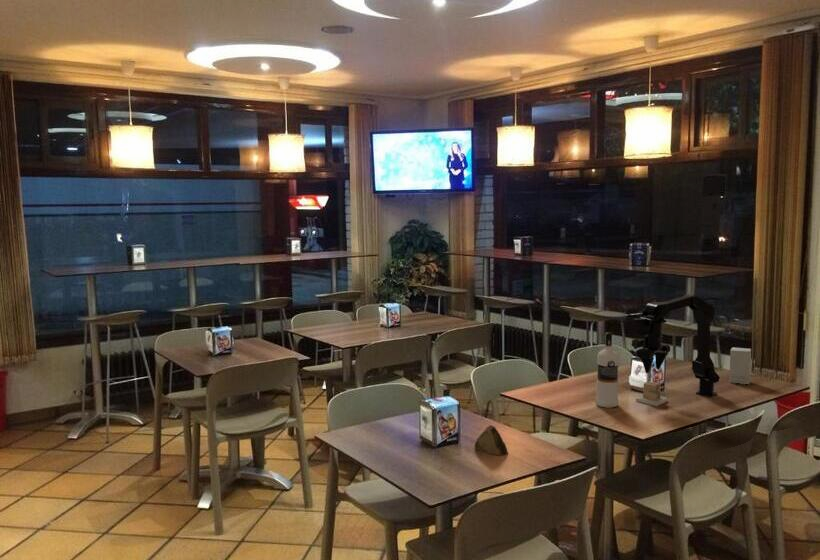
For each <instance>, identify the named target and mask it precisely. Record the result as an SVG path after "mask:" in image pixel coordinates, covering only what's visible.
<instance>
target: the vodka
mask: <svg viewBox="0 0 820 560" xmlns="http://www.w3.org/2000/svg"><path fill="white" fill-rule="evenodd" d="M604 343H605V344H604V348H603V349H601V350H599V352H598V353H597V362H596V363H597V376H596V377H597V378H596V393H595V397H594V403H595V405H597V407H600V408H604V407H605V409H613V407H614V408H616V407H618V406H619V403H620V402H619V401H620V400H619V394H618V384H619V381H618V380H619V361H620V357H619V354H618V352H617V351H615V350H614V349H613V347H612V345H613V333H612V332H605V341H604Z"/></svg>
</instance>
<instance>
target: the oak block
mask: <svg viewBox="0 0 820 560" xmlns="http://www.w3.org/2000/svg"><path fill="white" fill-rule="evenodd" d="M642 387H643V389H642V395H643V398H647V399H651V400H656V399H658V398H660V397H661V389H662V388H661V387H662V384H661V382H655V381H650V380H649V381H647V382H644V383H643V386H642Z"/></svg>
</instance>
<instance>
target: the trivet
mask: <svg viewBox="0 0 820 560" xmlns="http://www.w3.org/2000/svg"><path fill="white" fill-rule="evenodd" d="M636 401H637V402H638V403H641V404H644V405H651V406H655V407H658V406H661V405H662V404H664V403H666V402H668V398H667V397H665V396H660V398H658V399H656V400H651V399H647V398H643V394H642V395H640V396H638V397H636V398H635V402H636Z"/></svg>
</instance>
